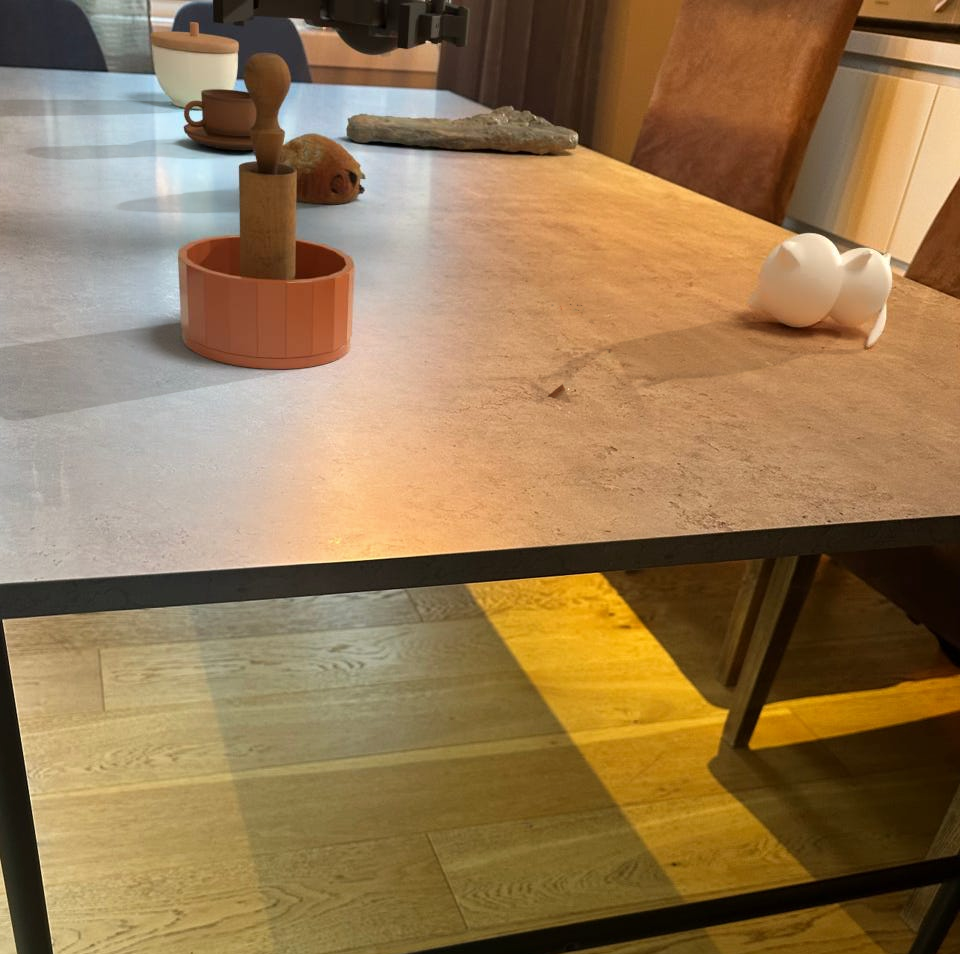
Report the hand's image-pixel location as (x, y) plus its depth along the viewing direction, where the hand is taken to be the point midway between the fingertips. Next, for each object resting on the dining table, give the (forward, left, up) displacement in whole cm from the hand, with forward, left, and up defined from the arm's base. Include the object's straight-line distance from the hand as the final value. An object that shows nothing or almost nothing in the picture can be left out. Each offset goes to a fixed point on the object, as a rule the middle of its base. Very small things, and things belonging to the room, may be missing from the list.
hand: (309, 14), depth 77 cm
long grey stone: (-23, +81, -21) cm, 87 cm away
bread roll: (-20, +36, -21) cm, 46 cm away
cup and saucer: (-42, +51, -21) cm, 69 cm away
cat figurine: (+38, +26, -21) cm, 50 cm away
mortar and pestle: (+3, -9, -20) cm, 22 cm away
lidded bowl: (-64, +73, -21) cm, 100 cm away
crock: (+3, -9, -21) cm, 23 cm away
